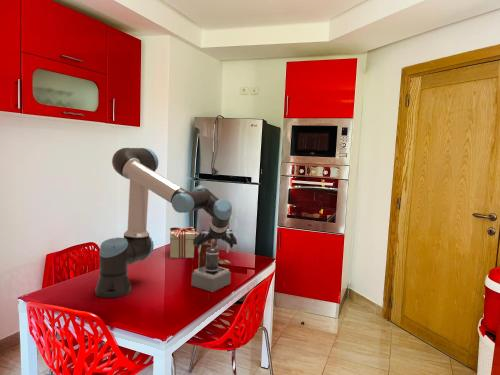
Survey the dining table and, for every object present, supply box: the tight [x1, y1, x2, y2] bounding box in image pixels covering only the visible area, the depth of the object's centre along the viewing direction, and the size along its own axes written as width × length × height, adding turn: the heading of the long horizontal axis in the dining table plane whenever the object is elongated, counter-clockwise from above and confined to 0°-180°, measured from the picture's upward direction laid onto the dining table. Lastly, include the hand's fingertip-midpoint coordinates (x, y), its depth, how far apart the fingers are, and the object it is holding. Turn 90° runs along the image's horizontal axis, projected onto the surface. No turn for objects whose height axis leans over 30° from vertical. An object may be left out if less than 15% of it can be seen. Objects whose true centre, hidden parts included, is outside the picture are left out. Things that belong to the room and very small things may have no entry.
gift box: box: [169, 226, 200, 259], centre depth 228 cm, size 17×18×17 cm
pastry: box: [218, 257, 231, 265], centre depth 216 cm, size 7×12×4 cm, turn 126°
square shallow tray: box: [190, 270, 232, 293], centre depth 182 cm, size 14×13×6 cm
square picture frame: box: [193, 266, 230, 279], centre depth 181 cm, size 12×12×2 cm
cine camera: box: [197, 237, 219, 269], centre depth 203 cm, size 9×19×20 cm, turn 174°
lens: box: [205, 247, 220, 275], centre depth 181 cm, size 6×6×12 cm
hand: (213, 250), depth 179 cm, fingers open, 13 cm apart
